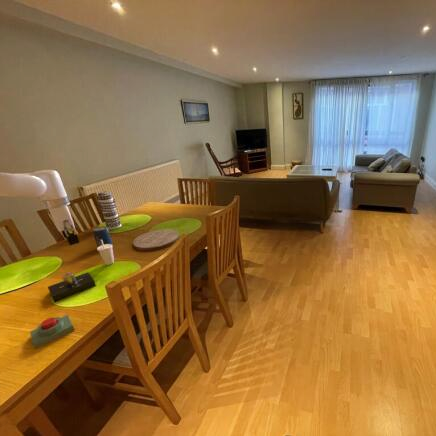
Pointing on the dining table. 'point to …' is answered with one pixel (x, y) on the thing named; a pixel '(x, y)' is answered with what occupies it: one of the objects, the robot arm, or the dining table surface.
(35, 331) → the push button box
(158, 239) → the trivet
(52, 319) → the power button
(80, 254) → the dining table surface
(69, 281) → the hob knob
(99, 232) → the soda can
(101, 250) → the smoothie
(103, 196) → the grey ringed cylinder
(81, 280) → the hob panel
